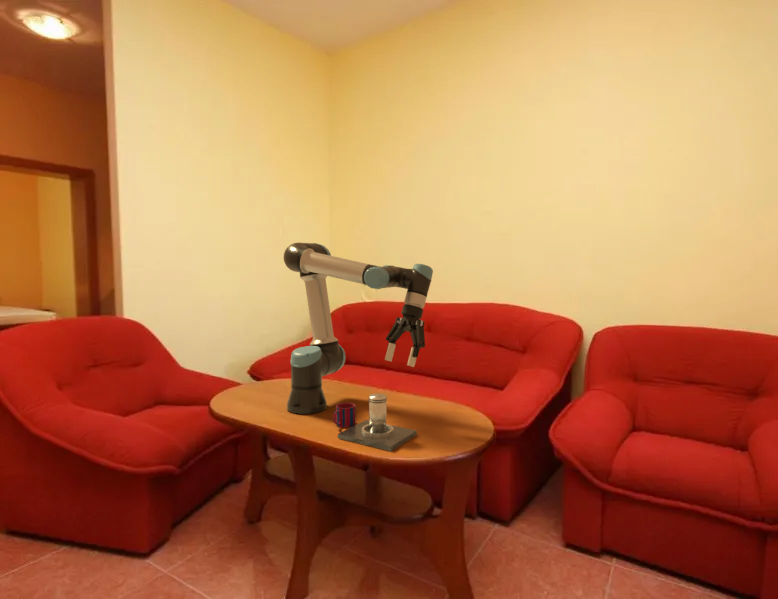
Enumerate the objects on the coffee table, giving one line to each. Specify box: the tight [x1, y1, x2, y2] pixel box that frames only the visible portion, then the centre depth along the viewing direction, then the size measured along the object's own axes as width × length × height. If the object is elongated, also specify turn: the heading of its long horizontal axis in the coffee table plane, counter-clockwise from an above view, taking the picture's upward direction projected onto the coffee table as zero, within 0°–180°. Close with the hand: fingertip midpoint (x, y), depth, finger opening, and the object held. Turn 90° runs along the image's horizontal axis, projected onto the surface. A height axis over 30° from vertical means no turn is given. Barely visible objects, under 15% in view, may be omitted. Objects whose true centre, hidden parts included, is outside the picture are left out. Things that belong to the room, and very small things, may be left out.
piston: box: [368, 392, 388, 433], centre depth 152 cm, size 6×6×12 cm
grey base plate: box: [337, 419, 418, 452], centre depth 152 cm, size 20×16×3 cm
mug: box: [332, 402, 357, 429], centre depth 162 cm, size 7×10×7 cm
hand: (398, 363), depth 167 cm, fingers open, 13 cm apart
